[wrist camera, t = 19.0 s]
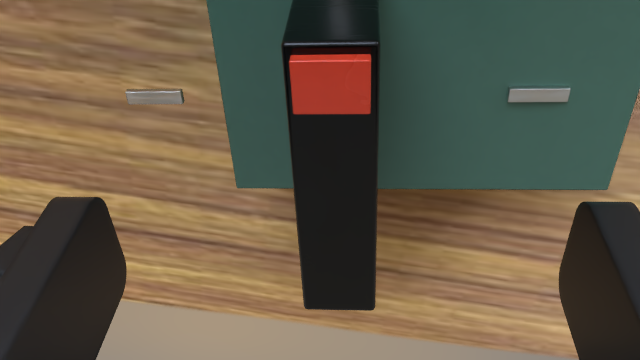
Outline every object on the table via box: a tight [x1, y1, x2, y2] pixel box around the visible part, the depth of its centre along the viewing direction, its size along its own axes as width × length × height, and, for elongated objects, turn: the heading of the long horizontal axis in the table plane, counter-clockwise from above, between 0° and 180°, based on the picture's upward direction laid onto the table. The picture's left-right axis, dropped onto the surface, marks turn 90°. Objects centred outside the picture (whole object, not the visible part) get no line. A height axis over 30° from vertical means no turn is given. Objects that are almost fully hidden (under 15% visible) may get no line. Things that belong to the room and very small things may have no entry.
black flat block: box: [281, 0, 381, 310], centre depth 13 cm, size 6×2×4 cm, turn 2°
